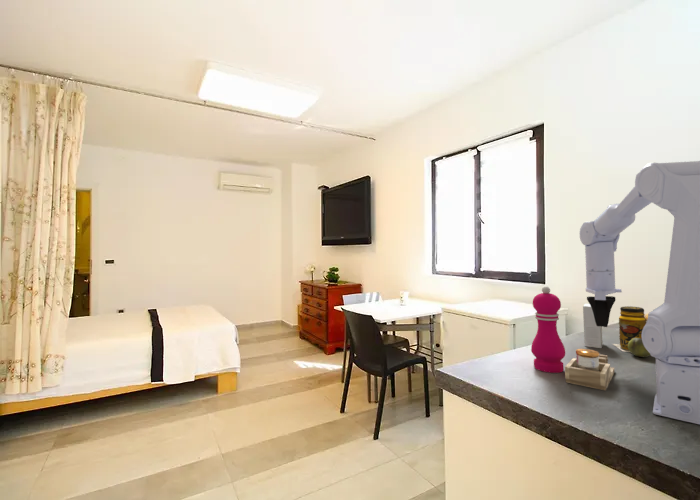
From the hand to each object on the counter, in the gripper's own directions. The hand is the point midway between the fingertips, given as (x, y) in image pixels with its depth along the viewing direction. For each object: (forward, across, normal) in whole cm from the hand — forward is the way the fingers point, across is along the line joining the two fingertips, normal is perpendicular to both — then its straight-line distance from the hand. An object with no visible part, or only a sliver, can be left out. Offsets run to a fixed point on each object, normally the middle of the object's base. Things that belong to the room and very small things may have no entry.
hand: (601, 326), depth 84 cm
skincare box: (+10, +21, +3) cm, 24 cm away
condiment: (+10, +22, -6) cm, 25 cm away
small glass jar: (+9, -13, +2) cm, 16 cm away
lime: (+10, +14, -8) cm, 19 cm away
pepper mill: (+10, -9, +11) cm, 17 cm away
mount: (+10, -10, +2) cm, 14 cm away
